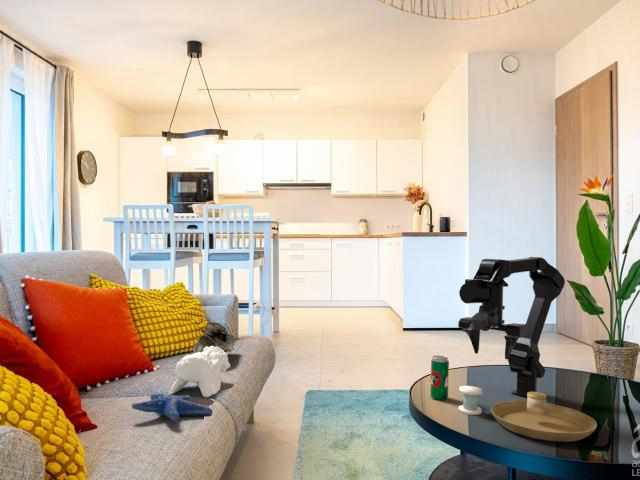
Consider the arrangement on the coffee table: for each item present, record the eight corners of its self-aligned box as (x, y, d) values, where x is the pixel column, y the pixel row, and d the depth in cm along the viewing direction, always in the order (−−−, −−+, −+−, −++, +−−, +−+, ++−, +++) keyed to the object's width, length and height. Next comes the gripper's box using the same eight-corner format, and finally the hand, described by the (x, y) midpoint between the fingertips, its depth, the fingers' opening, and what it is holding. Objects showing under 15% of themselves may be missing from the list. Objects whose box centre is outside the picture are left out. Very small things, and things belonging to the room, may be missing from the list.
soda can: (448, 401, 142) (449, 359, 142) (430, 400, 143) (431, 358, 143) (447, 396, 147) (448, 355, 147) (430, 394, 148) (431, 354, 148)
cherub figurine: (236, 348, 157) (211, 354, 137) (232, 388, 155) (206, 400, 136) (197, 344, 159) (167, 350, 140) (193, 383, 158) (162, 395, 138)
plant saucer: (492, 406, 140) (492, 395, 140) (589, 420, 131) (589, 407, 131) (488, 436, 117) (488, 422, 117) (604, 455, 108) (605, 439, 108)
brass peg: (531, 407, 129) (532, 390, 129) (548, 412, 126) (549, 394, 126) (523, 411, 126) (524, 393, 126) (540, 415, 123) (541, 398, 123)
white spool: (466, 406, 138) (467, 384, 138) (486, 412, 134) (486, 389, 134) (454, 410, 134) (454, 388, 134) (474, 416, 130) (474, 393, 130)
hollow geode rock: (221, 362, 200) (196, 334, 200) (244, 341, 199) (219, 313, 200) (201, 379, 172) (172, 346, 172) (228, 354, 171) (200, 322, 172)
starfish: (203, 430, 115) (204, 409, 115) (123, 428, 115) (124, 406, 115) (220, 404, 134) (221, 386, 134) (152, 402, 134) (152, 384, 134)
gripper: (448, 300, 145) (447, 354, 145) (511, 307, 131) (510, 366, 131) (468, 298, 153) (467, 349, 152) (529, 304, 139) (527, 360, 139)
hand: (491, 356), depth 144 cm, fingers open, 9 cm apart
